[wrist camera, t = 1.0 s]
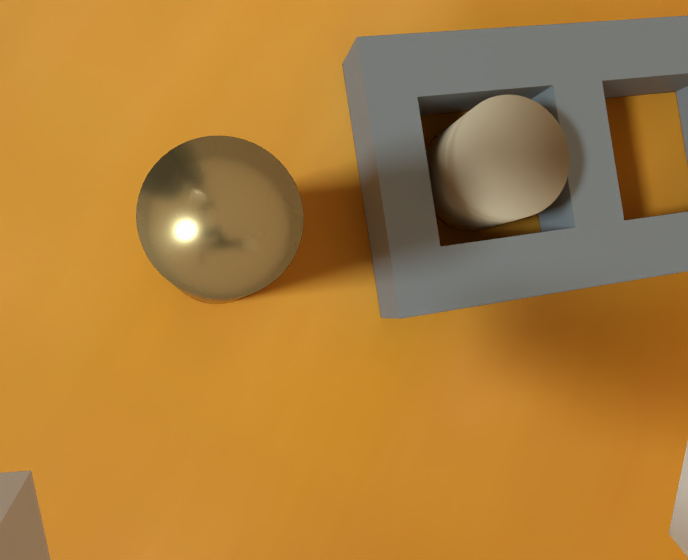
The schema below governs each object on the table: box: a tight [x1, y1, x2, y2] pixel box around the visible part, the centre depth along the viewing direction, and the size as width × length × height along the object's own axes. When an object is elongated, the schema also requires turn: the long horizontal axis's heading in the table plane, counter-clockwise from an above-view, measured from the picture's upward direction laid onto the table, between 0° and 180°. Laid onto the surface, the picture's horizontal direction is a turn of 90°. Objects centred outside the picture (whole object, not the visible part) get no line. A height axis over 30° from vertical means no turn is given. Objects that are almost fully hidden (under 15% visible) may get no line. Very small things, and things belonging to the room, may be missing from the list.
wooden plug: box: [426, 95, 570, 231], centre depth 29 cm, size 5×5×4 cm
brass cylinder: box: [136, 136, 304, 304], centre depth 23 cm, size 4×4×11 cm
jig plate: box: [342, 16, 688, 319], centre depth 30 cm, size 12×20×3 cm, turn 99°
